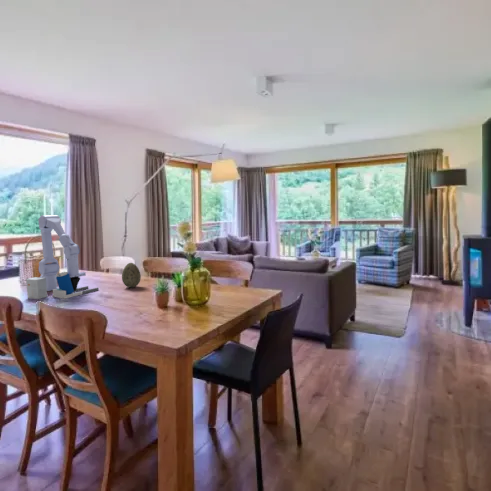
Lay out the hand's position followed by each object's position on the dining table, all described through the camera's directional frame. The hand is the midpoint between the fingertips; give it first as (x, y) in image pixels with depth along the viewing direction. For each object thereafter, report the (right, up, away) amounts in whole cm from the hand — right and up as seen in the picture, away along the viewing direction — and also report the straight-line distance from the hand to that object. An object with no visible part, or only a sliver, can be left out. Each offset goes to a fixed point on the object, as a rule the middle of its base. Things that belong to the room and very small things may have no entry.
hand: (74, 290), depth 205 cm
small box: (-16, -3, -8) cm, 18 cm away
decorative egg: (+27, 0, +16) cm, 32 cm away
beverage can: (-2, -2, -3) cm, 4 cm away
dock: (+1, -2, +2) cm, 2 cm away
